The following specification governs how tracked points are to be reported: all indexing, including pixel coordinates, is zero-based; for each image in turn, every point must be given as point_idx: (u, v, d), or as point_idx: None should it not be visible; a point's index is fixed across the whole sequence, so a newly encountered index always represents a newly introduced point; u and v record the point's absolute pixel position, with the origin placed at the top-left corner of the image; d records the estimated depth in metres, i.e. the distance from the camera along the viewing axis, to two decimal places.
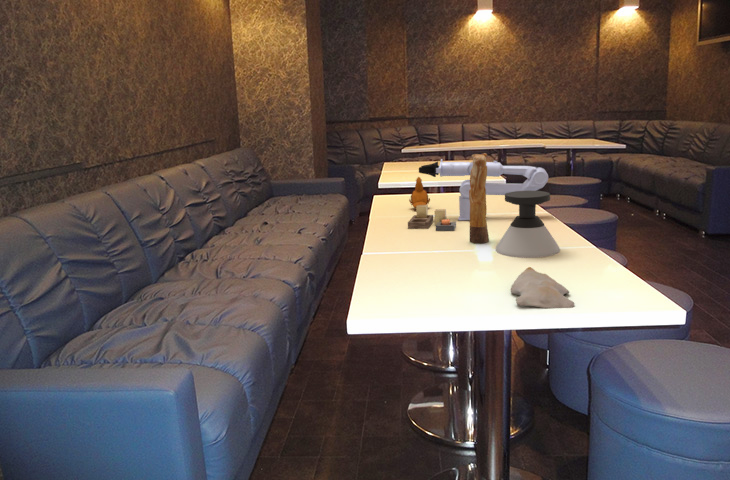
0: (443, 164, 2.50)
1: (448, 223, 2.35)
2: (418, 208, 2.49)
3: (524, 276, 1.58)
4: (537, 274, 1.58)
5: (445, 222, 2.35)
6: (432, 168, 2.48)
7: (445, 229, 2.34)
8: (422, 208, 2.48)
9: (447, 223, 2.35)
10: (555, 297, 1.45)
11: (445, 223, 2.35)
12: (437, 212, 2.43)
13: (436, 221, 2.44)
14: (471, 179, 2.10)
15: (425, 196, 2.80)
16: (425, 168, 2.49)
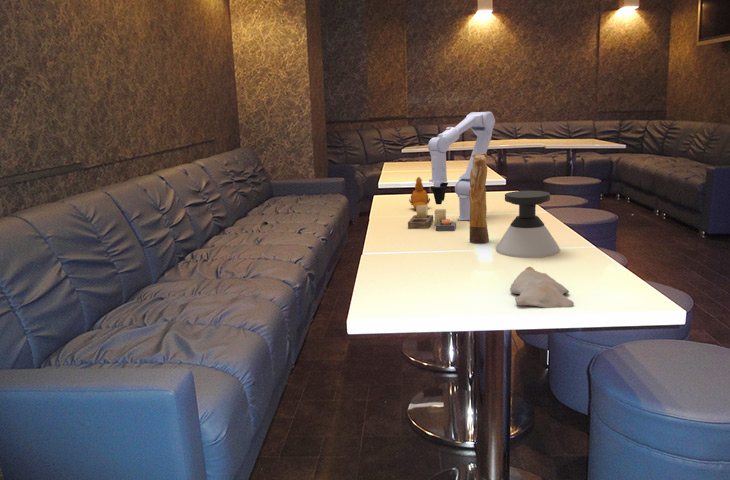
0: (433, 178, 2.40)
1: (448, 223, 2.35)
2: (418, 208, 2.49)
3: (524, 275, 1.58)
4: (537, 273, 1.58)
5: (445, 222, 2.35)
6: (436, 190, 2.38)
7: (445, 229, 2.34)
8: (422, 208, 2.48)
9: (447, 223, 2.35)
10: (554, 297, 1.45)
11: (445, 223, 2.35)
12: (437, 212, 2.43)
13: (436, 221, 2.44)
14: (471, 179, 2.10)
15: (425, 196, 2.80)
16: (436, 197, 2.39)
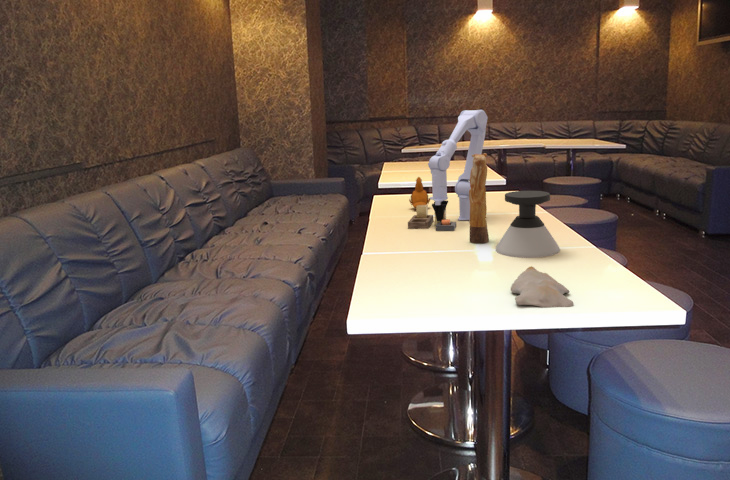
0: (434, 196, 2.42)
1: (448, 223, 2.35)
2: (418, 208, 2.49)
3: (524, 275, 1.58)
4: (537, 273, 1.58)
5: (445, 222, 2.35)
6: (437, 207, 2.41)
7: (445, 229, 2.34)
8: (422, 208, 2.48)
9: (447, 223, 2.35)
10: (554, 296, 1.46)
11: (445, 223, 2.35)
12: None
13: (436, 221, 2.43)
14: (471, 179, 2.10)
15: (425, 196, 2.80)
16: (437, 214, 2.42)
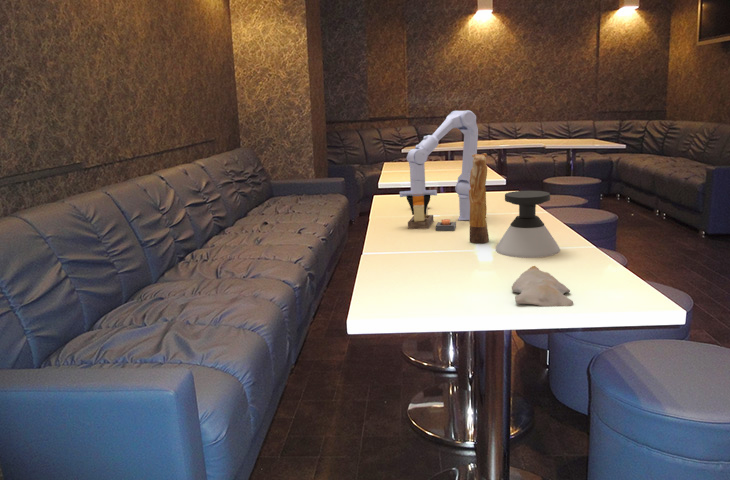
0: None
1: (448, 223, 2.35)
2: None
3: (526, 274, 1.59)
4: (539, 272, 1.59)
5: (445, 222, 2.35)
6: None
7: (445, 229, 2.34)
8: None
9: (447, 223, 2.35)
10: (554, 296, 1.46)
11: (445, 223, 2.35)
12: None
13: None
14: (471, 179, 2.10)
15: None
16: None
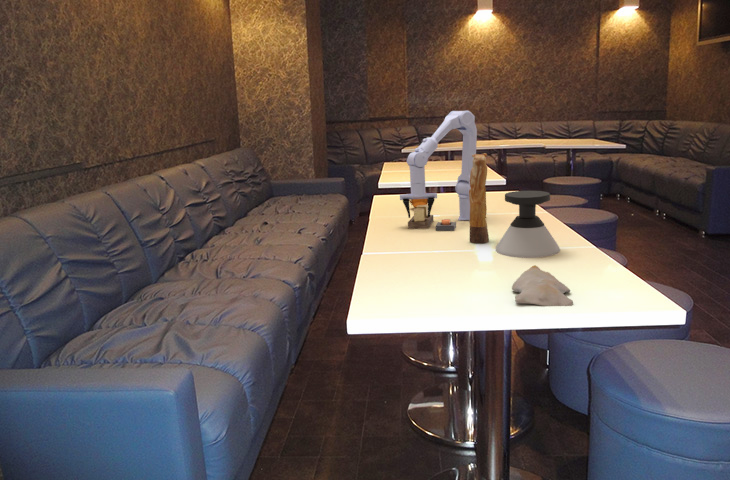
0: None
1: (448, 223, 2.35)
2: (418, 208, 2.49)
3: (526, 274, 1.59)
4: (539, 272, 1.59)
5: (445, 222, 2.35)
6: None
7: (445, 229, 2.34)
8: None
9: (447, 223, 2.35)
10: (554, 295, 1.47)
11: (445, 223, 2.35)
12: None
13: None
14: (471, 179, 2.10)
15: None
16: None
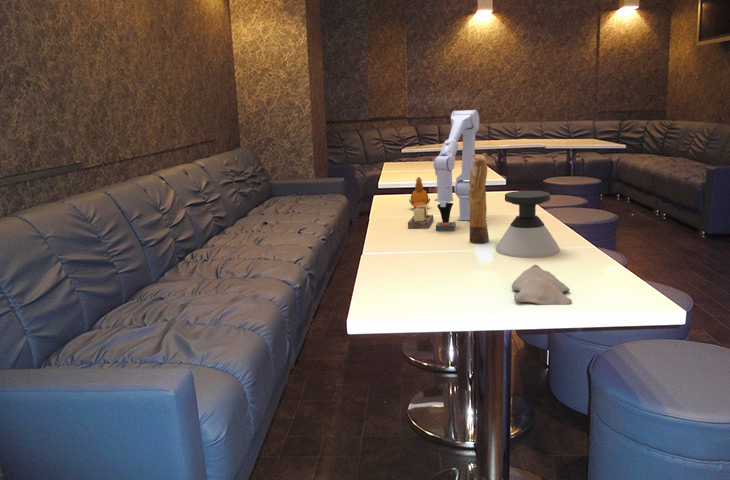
0: (439, 198, 2.33)
1: None
2: (418, 208, 2.49)
3: (526, 273, 1.60)
4: (539, 271, 1.60)
5: (445, 224, 2.35)
6: (443, 208, 2.35)
7: (445, 229, 2.34)
8: None
9: None
10: (552, 294, 1.47)
11: None
12: None
13: None
14: (471, 179, 2.10)
15: (425, 196, 2.80)
16: (443, 215, 2.35)
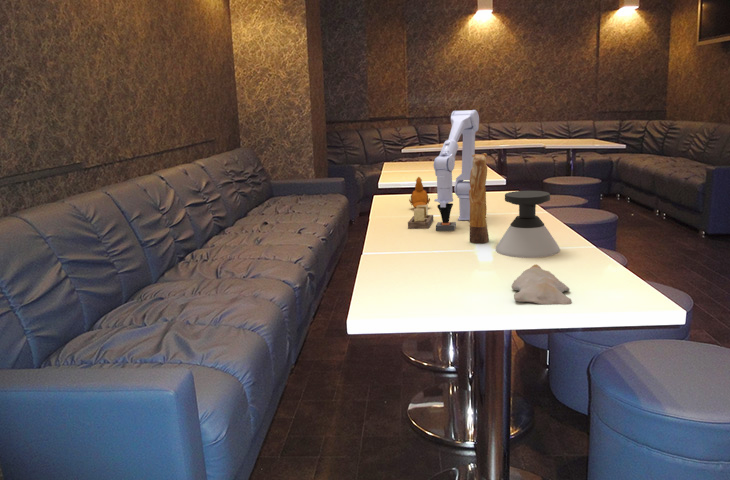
0: (439, 198, 2.33)
1: None
2: (418, 208, 2.49)
3: (526, 273, 1.60)
4: (539, 271, 1.60)
5: None
6: (443, 208, 2.35)
7: (445, 229, 2.34)
8: None
9: None
10: (552, 294, 1.48)
11: None
12: None
13: None
14: (471, 179, 2.10)
15: (425, 196, 2.80)
16: (443, 216, 2.35)
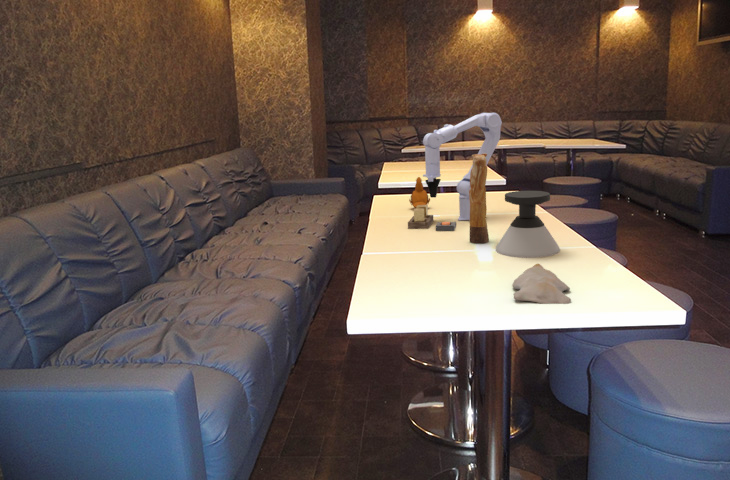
0: (427, 173, 2.45)
1: None
2: (418, 208, 2.49)
3: (527, 272, 1.61)
4: (540, 270, 1.61)
5: None
6: (431, 183, 2.47)
7: (445, 229, 2.34)
8: None
9: None
10: (552, 293, 1.48)
11: None
12: None
13: None
14: (471, 179, 2.10)
15: (425, 196, 2.80)
16: (431, 190, 2.47)
